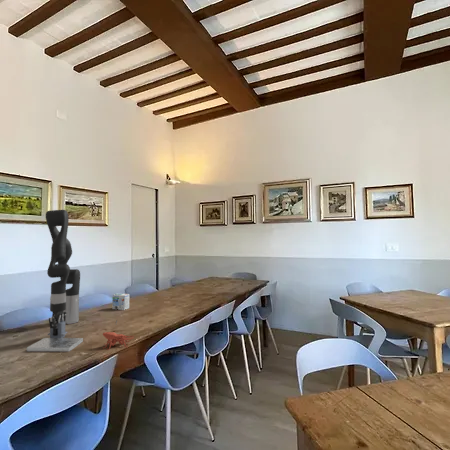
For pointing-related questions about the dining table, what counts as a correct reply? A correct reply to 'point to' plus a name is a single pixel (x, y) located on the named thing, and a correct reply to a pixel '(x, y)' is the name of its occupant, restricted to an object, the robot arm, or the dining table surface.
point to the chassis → (55, 344)
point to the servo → (59, 330)
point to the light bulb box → (120, 301)
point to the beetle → (115, 338)
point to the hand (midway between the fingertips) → (57, 334)
